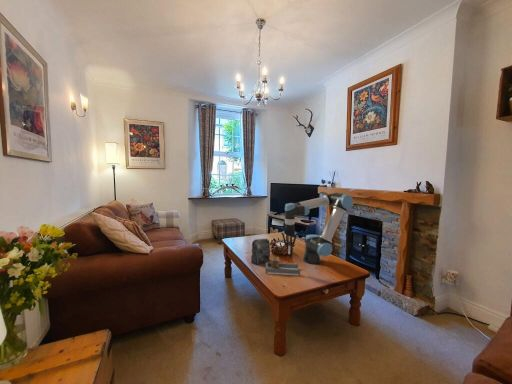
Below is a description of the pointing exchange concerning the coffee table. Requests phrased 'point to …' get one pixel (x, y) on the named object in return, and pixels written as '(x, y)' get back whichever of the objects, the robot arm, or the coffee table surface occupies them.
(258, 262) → the stone block
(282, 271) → the chute
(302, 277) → the coffee table surface
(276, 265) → the walnut block
